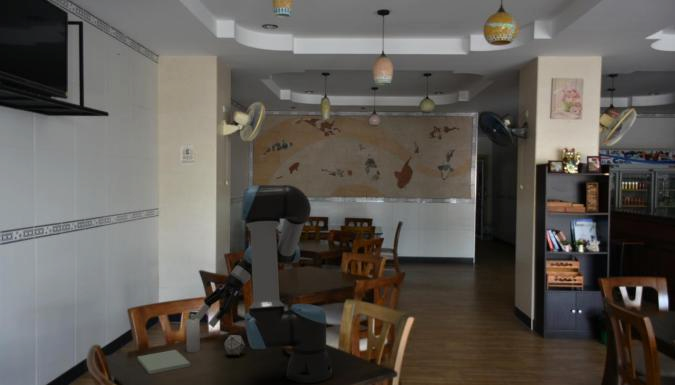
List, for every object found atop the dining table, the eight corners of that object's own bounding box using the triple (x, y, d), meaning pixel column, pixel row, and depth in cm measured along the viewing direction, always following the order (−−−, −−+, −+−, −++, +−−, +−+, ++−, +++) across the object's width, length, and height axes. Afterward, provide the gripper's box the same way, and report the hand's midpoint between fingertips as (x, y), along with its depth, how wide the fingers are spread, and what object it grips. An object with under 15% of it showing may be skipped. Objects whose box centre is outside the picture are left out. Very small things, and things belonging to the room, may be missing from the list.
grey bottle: (201, 350, 202) (201, 314, 202) (188, 353, 200) (188, 316, 199) (197, 347, 207) (196, 312, 206) (185, 349, 204) (184, 314, 204)
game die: (235, 367, 195) (229, 350, 188) (221, 354, 199) (214, 338, 193) (253, 350, 200) (248, 334, 193) (238, 339, 204) (233, 323, 198)
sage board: (190, 366, 185) (189, 362, 185) (149, 374, 178) (149, 370, 178) (175, 352, 200) (175, 349, 200) (137, 359, 193) (137, 356, 193)
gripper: (257, 289, 207) (223, 334, 199) (230, 280, 227) (197, 320, 218) (245, 277, 204) (210, 323, 195) (218, 269, 224) (185, 310, 215)
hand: (203, 322), depth 207 cm, fingers open, 13 cm apart
